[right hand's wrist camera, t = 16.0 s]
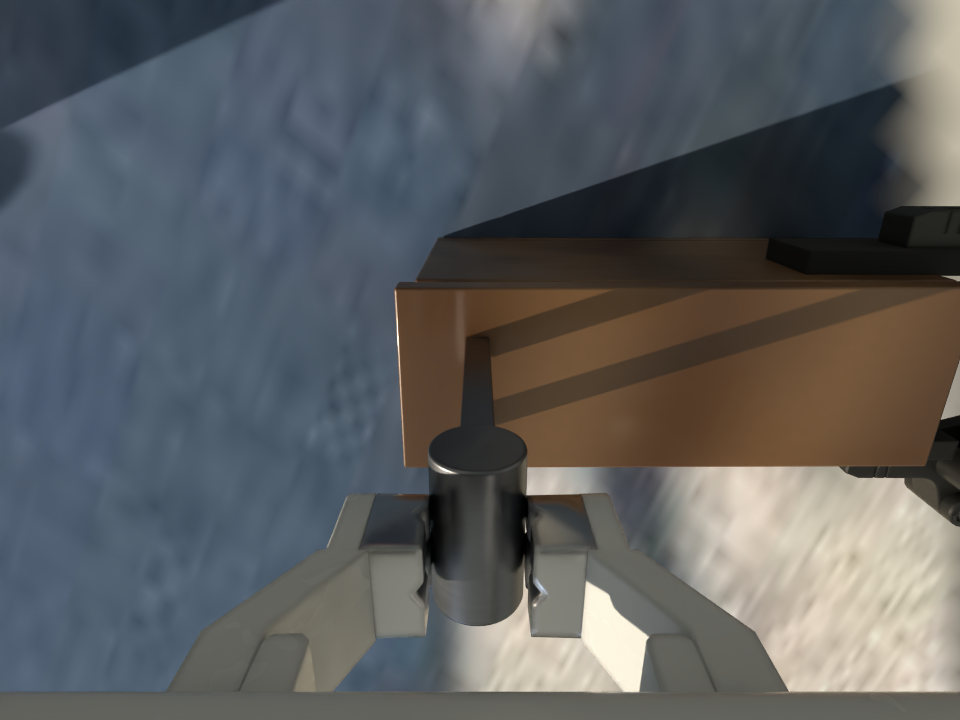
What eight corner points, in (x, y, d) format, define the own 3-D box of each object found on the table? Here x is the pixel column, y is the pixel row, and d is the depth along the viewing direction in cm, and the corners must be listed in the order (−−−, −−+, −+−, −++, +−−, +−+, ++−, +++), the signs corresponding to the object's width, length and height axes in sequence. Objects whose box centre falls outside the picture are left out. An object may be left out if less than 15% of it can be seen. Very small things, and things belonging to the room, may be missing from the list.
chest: (440, 361, 27) (421, 450, 19) (437, 237, 25) (414, 279, 17) (781, 362, 27) (907, 452, 19) (806, 237, 25) (959, 280, 17)
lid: (406, 454, 19) (354, 679, 11) (397, 281, 17) (326, 401, 9) (907, 453, 19) (1221, 675, 11) (960, 280, 17) (1394, 399, 9)
